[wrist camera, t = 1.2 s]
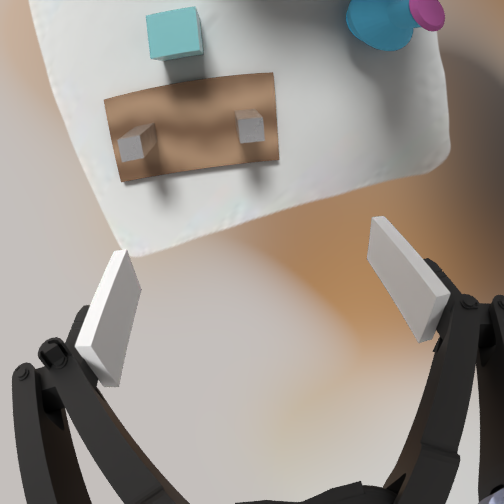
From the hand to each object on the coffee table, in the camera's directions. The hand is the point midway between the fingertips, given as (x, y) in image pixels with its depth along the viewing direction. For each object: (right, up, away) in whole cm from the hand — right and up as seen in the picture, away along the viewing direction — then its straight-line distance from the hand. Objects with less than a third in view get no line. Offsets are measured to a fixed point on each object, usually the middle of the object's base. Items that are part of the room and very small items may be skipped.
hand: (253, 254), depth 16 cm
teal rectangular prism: (-9, +27, +15) cm, 32 cm away
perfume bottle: (+16, +32, +15) cm, 38 cm away
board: (-8, +17, +22) cm, 29 cm away
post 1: (-14, +15, +21) cm, 29 cm away
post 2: (-1, +17, +21) cm, 27 cm away
